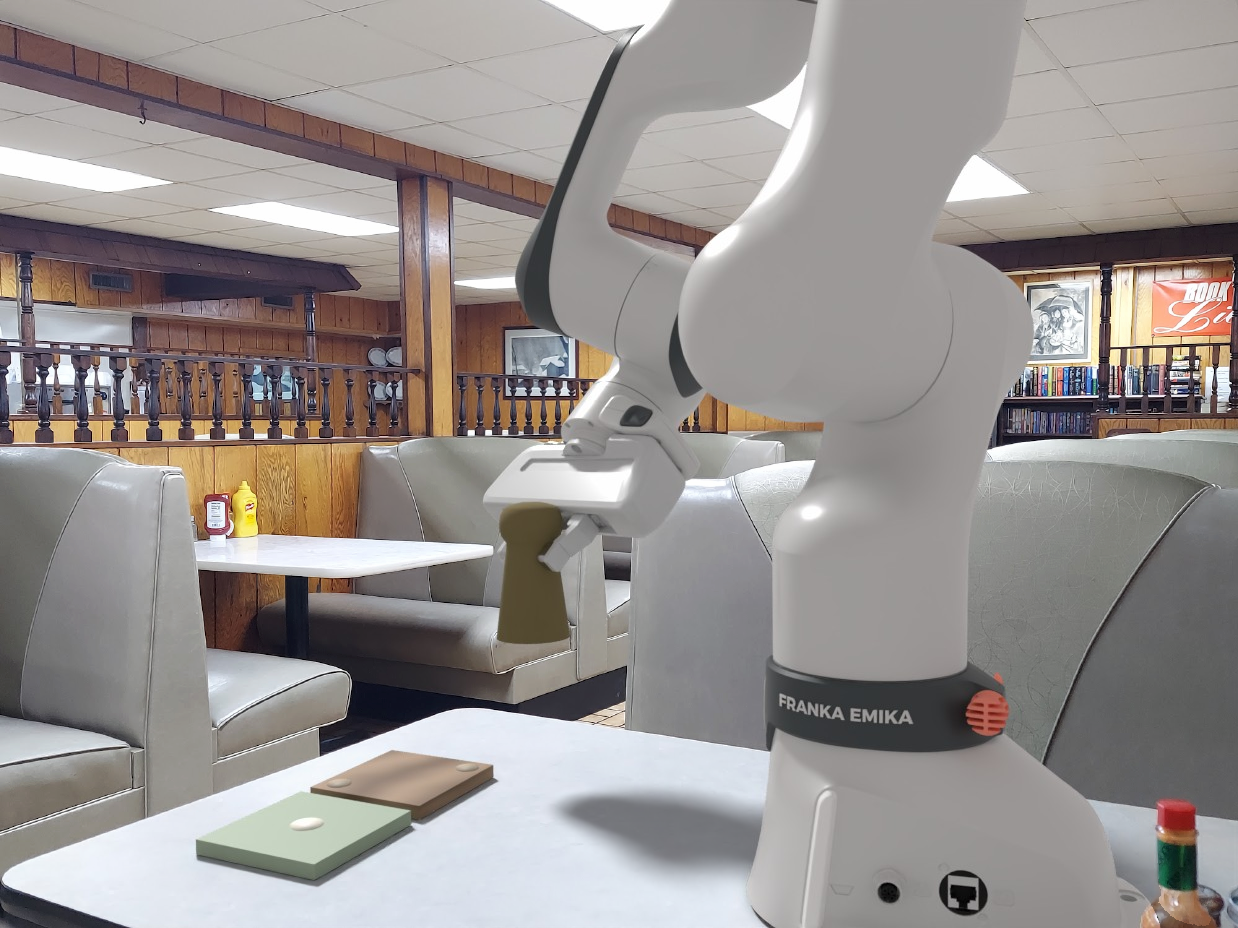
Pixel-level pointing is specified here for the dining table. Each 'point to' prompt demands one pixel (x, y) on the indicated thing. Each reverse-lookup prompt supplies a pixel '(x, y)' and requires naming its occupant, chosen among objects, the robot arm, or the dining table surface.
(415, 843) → the dining table surface
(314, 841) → the tile one
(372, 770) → the tile two
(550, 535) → the cork
